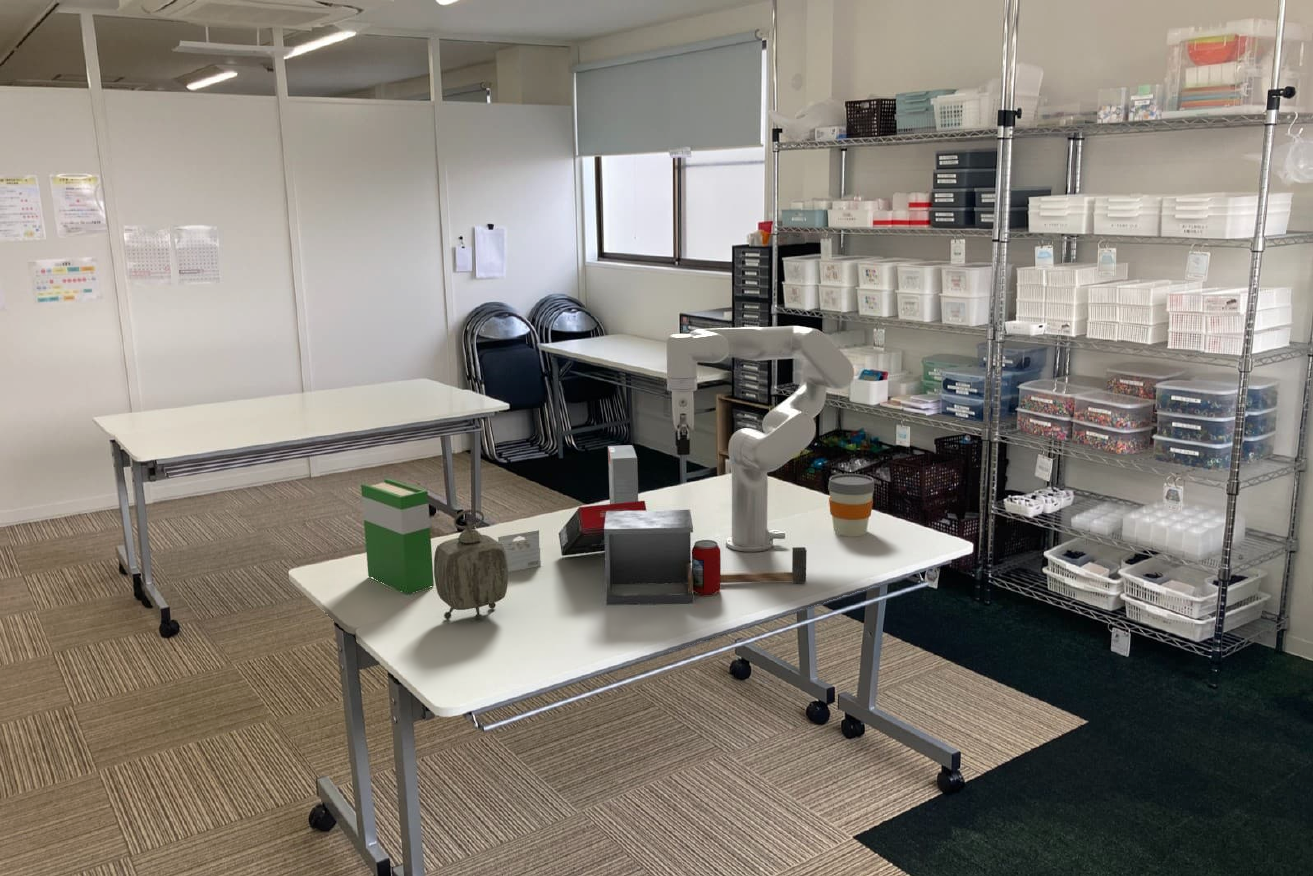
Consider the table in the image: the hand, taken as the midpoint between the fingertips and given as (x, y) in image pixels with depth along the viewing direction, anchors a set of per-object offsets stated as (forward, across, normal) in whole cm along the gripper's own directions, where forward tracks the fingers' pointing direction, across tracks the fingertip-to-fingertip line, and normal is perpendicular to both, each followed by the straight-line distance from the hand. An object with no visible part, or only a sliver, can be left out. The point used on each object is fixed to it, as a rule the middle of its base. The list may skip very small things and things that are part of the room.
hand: (682, 450), depth 263 cm
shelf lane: (+28, -26, +9) cm, 39 cm away
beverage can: (+29, -26, -4) cm, 39 cm away
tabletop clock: (+29, -39, +48) cm, 68 cm away
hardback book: (+29, -14, +70) cm, 77 cm away
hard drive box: (+29, +36, +16) cm, 49 cm away
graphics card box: (+26, +6, +24) cm, 36 cm away
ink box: (+29, -7, +42) cm, 51 cm away
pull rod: (+28, -25, -14) cm, 40 cm away
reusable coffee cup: (+28, +18, -47) cm, 58 cm away
